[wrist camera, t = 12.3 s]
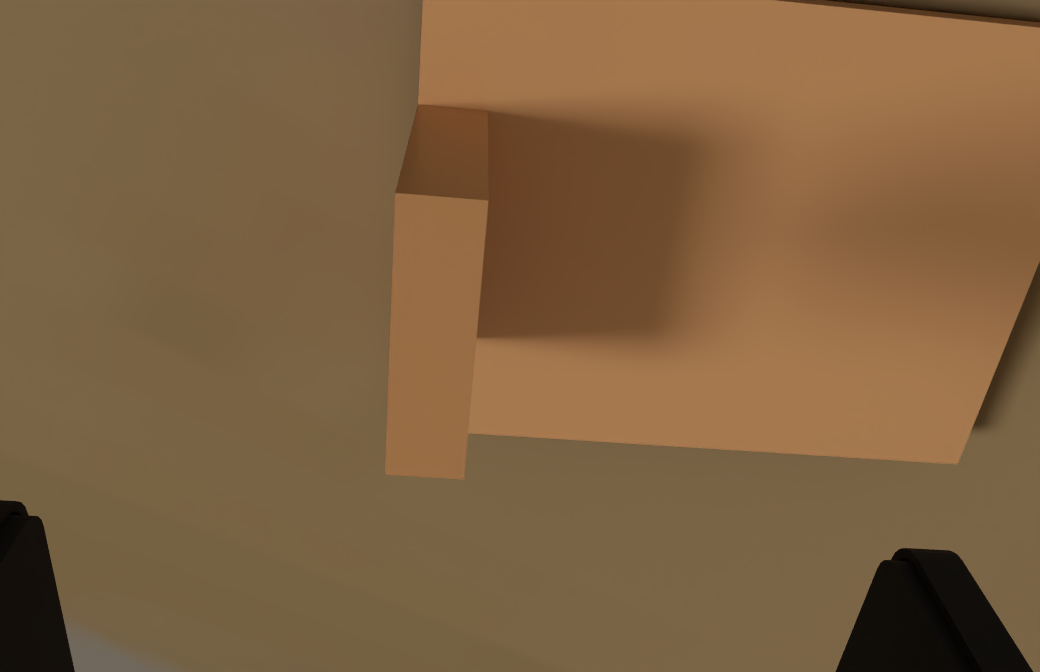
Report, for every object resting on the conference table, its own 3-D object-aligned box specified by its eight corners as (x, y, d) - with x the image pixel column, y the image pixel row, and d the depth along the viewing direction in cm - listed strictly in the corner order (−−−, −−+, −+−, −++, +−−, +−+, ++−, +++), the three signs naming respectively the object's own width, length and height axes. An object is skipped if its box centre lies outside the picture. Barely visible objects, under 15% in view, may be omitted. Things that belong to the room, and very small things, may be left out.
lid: (430, -47, 21) (402, 9, 14) (1075, 20, 23) (1352, 103, 15) (408, 387, 27) (381, 585, 20) (925, 421, 28) (1075, 620, 21)
